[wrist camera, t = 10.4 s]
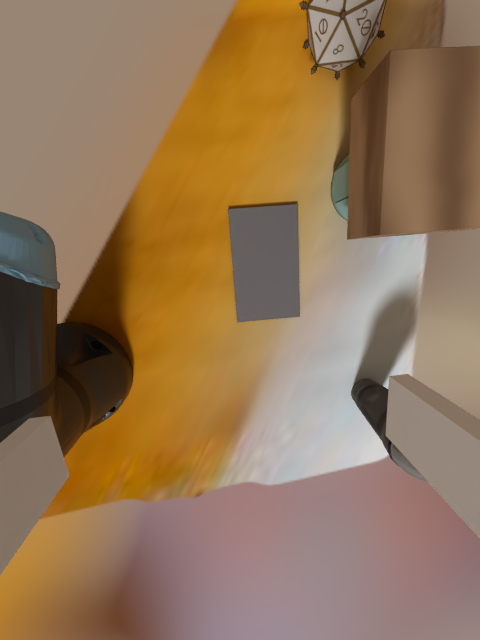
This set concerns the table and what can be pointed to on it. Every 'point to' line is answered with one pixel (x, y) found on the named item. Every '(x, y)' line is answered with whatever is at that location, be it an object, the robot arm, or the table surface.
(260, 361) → the table surface
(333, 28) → the game die
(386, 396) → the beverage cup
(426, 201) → the brown wooden block
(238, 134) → the table surface
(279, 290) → the mat
